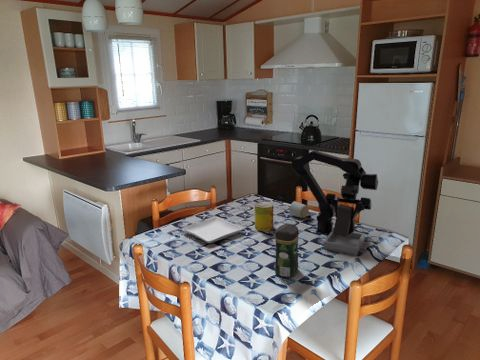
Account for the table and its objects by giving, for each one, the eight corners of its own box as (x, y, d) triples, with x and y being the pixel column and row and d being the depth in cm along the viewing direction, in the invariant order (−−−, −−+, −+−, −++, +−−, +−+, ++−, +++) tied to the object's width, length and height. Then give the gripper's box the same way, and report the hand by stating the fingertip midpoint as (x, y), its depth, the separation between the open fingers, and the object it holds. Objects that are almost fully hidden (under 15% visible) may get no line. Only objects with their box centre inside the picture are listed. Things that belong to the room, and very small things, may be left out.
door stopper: (346, 237, 156) (347, 210, 152) (332, 233, 159) (334, 207, 156) (355, 230, 162) (357, 204, 159) (342, 227, 166) (344, 201, 163)
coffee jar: (281, 264, 148) (281, 220, 143) (300, 268, 144) (301, 223, 139) (271, 275, 139) (271, 229, 134) (292, 280, 136) (292, 233, 131)
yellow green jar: (270, 232, 179) (270, 208, 176) (252, 230, 182) (252, 206, 179) (275, 225, 187) (275, 202, 184) (258, 223, 190) (257, 201, 187)
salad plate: (208, 248, 164) (208, 240, 163) (182, 234, 180) (181, 227, 179) (244, 234, 178) (244, 227, 177) (216, 222, 193) (216, 216, 192)
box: (323, 249, 160) (323, 241, 159) (333, 235, 173) (333, 228, 172) (356, 255, 153) (357, 247, 152) (364, 241, 167) (364, 233, 166)
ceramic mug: (301, 220, 192) (302, 206, 191) (288, 216, 198) (289, 203, 196) (312, 215, 200) (313, 201, 198) (300, 211, 205) (300, 198, 203)
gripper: (327, 175, 162) (319, 207, 156) (372, 180, 153) (365, 213, 147) (331, 187, 171) (323, 218, 165) (374, 193, 162) (367, 225, 156)
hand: (344, 218), depth 158 cm, fingers closed on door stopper, 6 cm apart
